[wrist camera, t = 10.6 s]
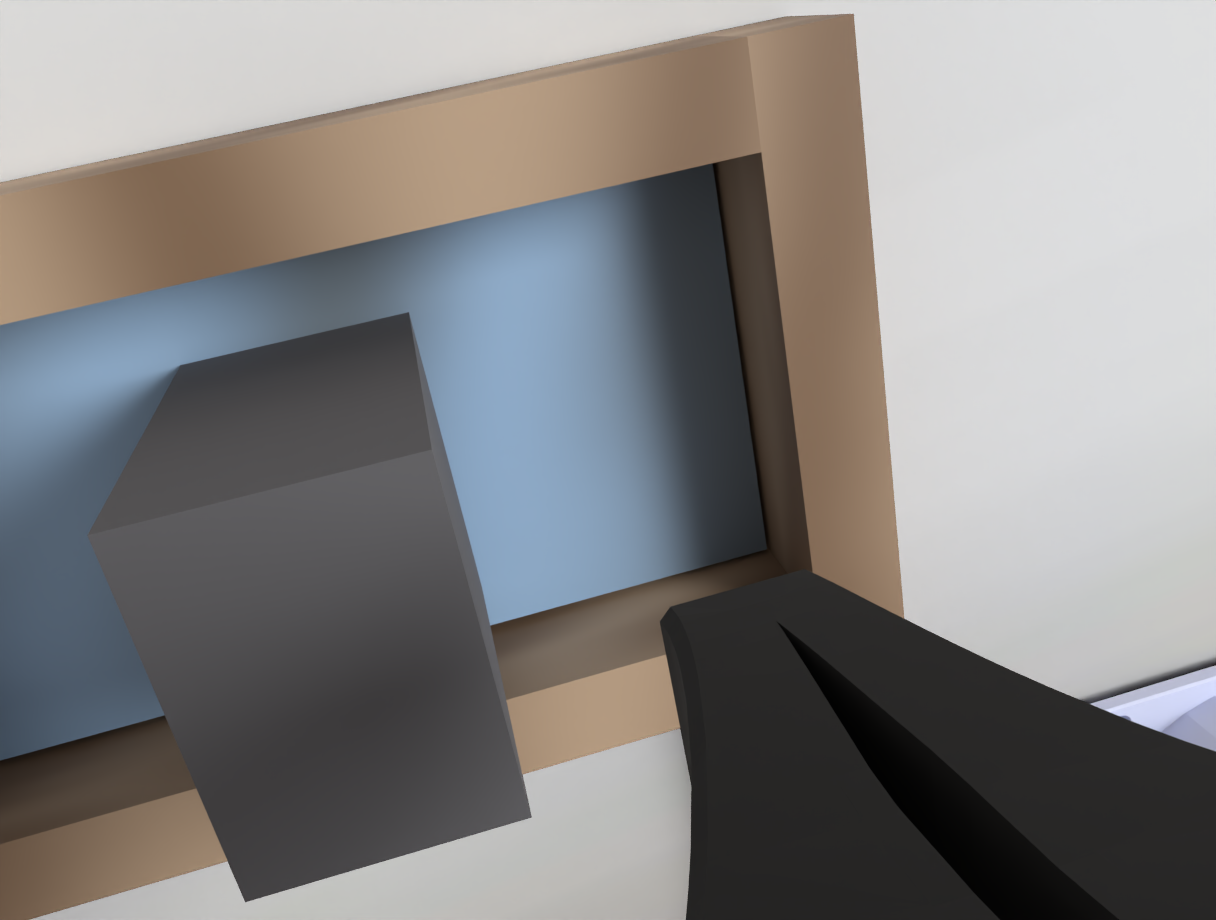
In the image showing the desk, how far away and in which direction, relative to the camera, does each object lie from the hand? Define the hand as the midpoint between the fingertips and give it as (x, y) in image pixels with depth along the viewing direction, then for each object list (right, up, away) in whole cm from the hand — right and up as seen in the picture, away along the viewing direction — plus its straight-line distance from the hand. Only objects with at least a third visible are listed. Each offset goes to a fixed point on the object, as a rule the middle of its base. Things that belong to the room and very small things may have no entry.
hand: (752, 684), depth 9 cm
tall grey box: (-6, +2, +8) cm, 10 cm away
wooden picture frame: (-5, -2, +10) cm, 11 cm away
